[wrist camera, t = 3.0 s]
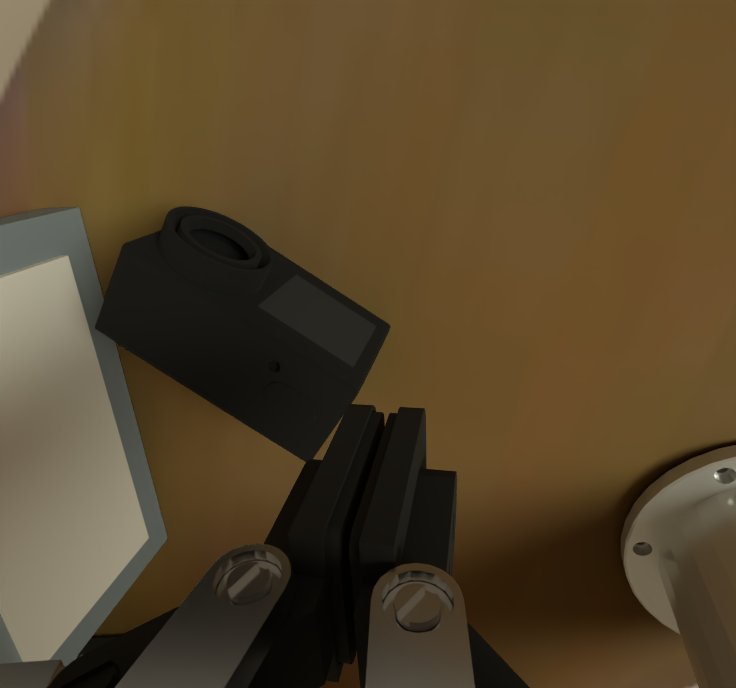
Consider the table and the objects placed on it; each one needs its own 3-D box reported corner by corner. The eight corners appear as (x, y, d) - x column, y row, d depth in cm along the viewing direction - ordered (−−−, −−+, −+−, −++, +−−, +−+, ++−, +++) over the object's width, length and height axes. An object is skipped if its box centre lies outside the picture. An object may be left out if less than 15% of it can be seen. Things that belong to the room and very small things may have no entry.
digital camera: (407, 307, 25) (377, 372, 19) (352, 387, 27) (310, 468, 21) (223, 188, 25) (130, 214, 18) (184, 279, 27) (91, 329, 21)
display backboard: (85, 207, 27) (-191, 271, 16) (173, 539, 35) (31, 724, 25) (46, 208, 27) (-247, 271, 16) (141, 534, 36) (-10, 714, 25)
